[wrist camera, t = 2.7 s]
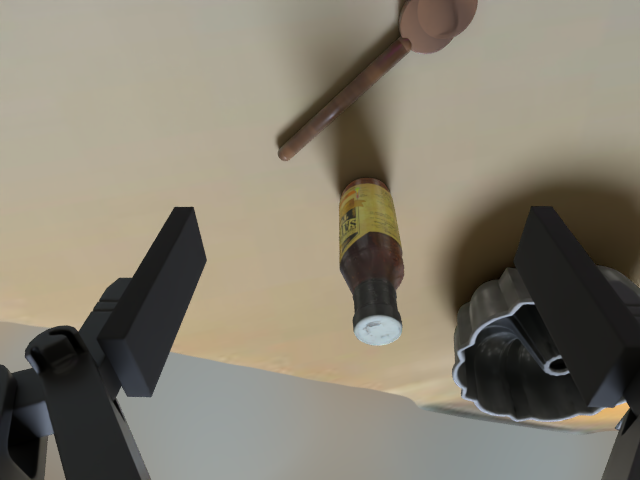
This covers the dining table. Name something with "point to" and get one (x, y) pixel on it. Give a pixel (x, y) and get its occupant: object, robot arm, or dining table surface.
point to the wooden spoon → (393, 57)
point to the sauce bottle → (371, 259)
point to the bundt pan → (515, 354)
